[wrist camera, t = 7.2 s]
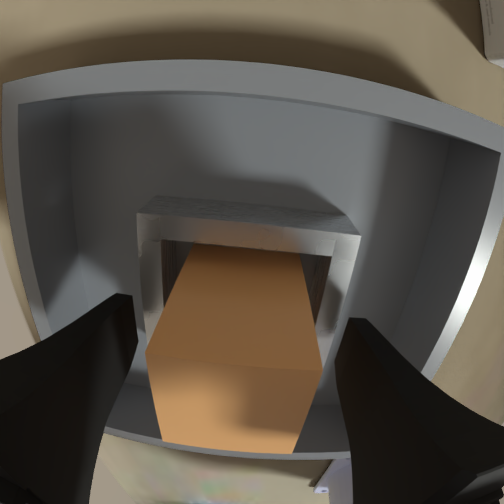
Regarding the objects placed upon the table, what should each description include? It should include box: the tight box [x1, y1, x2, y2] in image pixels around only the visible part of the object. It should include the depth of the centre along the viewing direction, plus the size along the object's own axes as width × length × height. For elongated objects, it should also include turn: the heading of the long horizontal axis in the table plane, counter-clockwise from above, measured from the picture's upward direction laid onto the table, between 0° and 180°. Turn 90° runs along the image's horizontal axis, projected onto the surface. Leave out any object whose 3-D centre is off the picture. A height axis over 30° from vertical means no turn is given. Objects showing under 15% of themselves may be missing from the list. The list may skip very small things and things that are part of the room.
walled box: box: [2, 60, 504, 460], centre depth 12 cm, size 16×16×4 cm
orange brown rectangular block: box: [145, 244, 323, 454], centre depth 10 cm, size 4×4×6 cm
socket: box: [136, 196, 361, 368], centre depth 12 cm, size 7×7×2 cm
